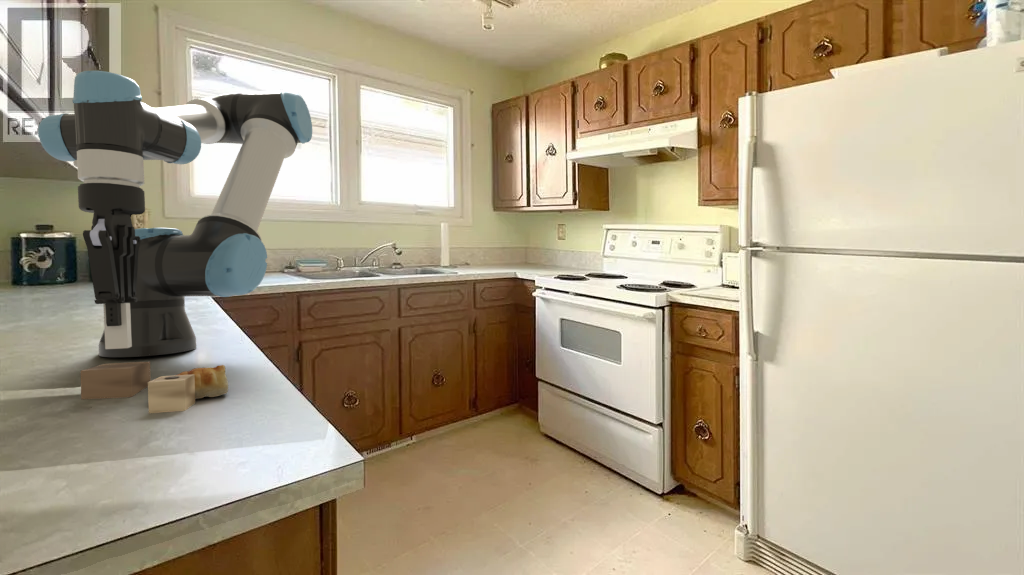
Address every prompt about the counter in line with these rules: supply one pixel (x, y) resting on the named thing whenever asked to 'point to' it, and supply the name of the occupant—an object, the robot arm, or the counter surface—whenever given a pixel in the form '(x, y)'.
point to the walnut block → (115, 380)
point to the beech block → (171, 393)
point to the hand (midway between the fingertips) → (118, 347)
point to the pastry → (209, 381)
